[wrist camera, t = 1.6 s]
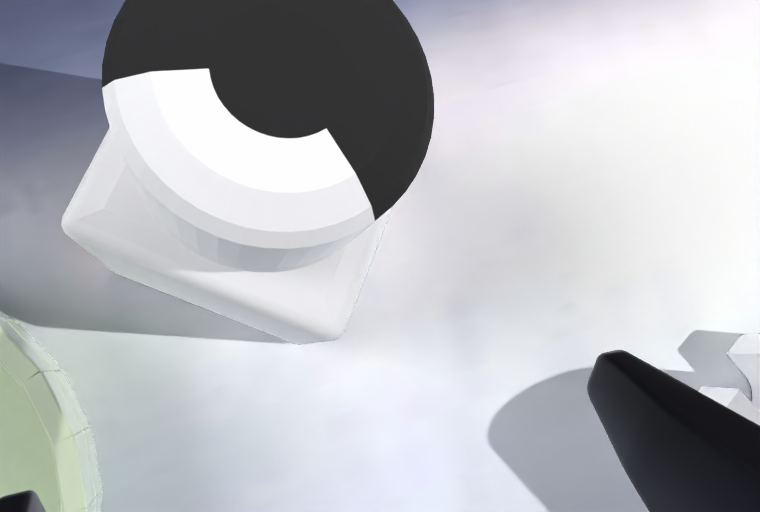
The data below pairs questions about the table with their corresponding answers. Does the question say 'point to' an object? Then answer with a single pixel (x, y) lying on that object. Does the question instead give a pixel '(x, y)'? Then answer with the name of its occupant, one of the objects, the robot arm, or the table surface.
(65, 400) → the bowl
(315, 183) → the medicine bottle
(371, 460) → the table surface
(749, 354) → the cable organizer
